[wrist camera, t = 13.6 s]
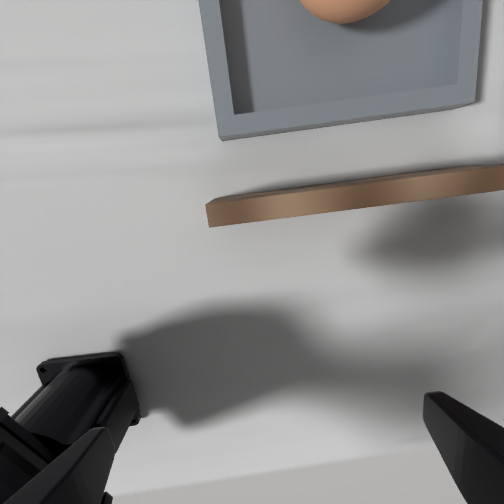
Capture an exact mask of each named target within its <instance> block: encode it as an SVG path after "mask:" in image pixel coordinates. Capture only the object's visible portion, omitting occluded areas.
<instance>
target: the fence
mask: <svg viewBox="0 0 504 504" xmlns="http://www.w3.org/2000/svg"><path fill="white" fill-rule="evenodd" d="M500 190H504V164H495V165H474V166H460V167H452V168H445V169H437V170H429V171H422V172H414V173H407V174H399V175H391V176H384V177H376V178H368V179H361V180H353V181H345V182H338V183H330V184H322V185H315V186H307V187H299V188H292V189H284V190H276V191H269V192H261V193H253V194H246V195H238V196H230V197H223V198H215V199H213V200H212V201H210V202H209V203H207V204H205V206H206V212H207V217H208V223H209V228H210V227H218V226H225V225H233V224H241V223H249V222H257V221H265V220H272V219H280V218H288V217H296V216H304V215H312V214H319V213H327V212H335V211H343V210H351V209H359V208H366V207H374V206H382V205H390V204H398V203H406V202H413V201H421V200H429V199H437V198H445V197H453V196H460V195H468V194H476V193H484V192H492V191H500Z"/></svg>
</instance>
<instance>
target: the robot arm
mask: <svg viewBox="0 0 504 504" xmlns="http://www.w3.org/2000/svg"><path fill="white" fill-rule="evenodd" d="M114 359H116V360H118V361H115V360H114ZM45 368H46V369H45ZM36 369H37V373H38V375H39V378H40V380H41V383H42V386H41V387H40V388H39V389H38V390H37V391H36V392H35V393H34V394H33V395H32V396H31V397H30V398H29V399H28V400H27V401H26V402H25V403H24V404H23V405H22V406H21V407H20V408H19V409H18V410H17V411H16V412H15V413H14V414H13V415H12V416H11V417H10V416H9V415H8V413H9V412H8V411H6V410H5V409H4V408H3V407H0V504H112V499H113V497H112V496H111V495H110V494H109V493H107V492H104V490H105V486H106V483H107V480H108V476H109V473H110V470H111V467H112V463H113V460H114V456H115V453H116V452H117V450H118V448H119V446H120V444H121V442H122V440H123V438H124V436H125V434H126V432H127V430H128V427H129V426H135V425H137V424H138V423H139V421H140V419H141V415H140V411H139V408H138V407H139V404H138V400H137V397H136V393H135V390H134V386H133V383H132V380H131V379H130V377H129V374H128V370H127V367H126V363H125V360H124V357H123V355H121V354H120V353H110V354H102V355H93V356H84V357H76V358H67V359H58V360H50V361H43V362H42V363H41V364H40V365H38V366H37V368H36ZM133 418H134V419H133ZM423 419H424V422H425V425H426V427H427V429H428V431H429V433H430V435H431V437H432V439H433V441H434V443H435V445H436V447H437V448H438V450H439V452H440V454H441V456H442V458H443V460H444V462H445V464H446V466H447V468H448V470H449V472H450V474H451V475H452V477H453V479H454V481H455V483H456V485H457V487H458V488H459V490H460V492H461V494H462V495H463V497H464V499H465V500H466V502H467V504H504V427H502V426H500V425H498V424H497V423H495V422H493V421H491V420H490V419H488V418H486V417H485V416H483V415H481V414H479V413H478V412H476V411H474V410H473V409H471V408H469V407H467V406H466V405H464V404H462V403H461V402H459V401H457V400H455V399H454V398H452V397H450V396H449V395H447V394H445V393H443V392H441V391H436V392H427V393H425V395H424V406H423Z"/></svg>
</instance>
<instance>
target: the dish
mask: <svg viewBox="0 0 504 504" xmlns="http://www.w3.org/2000/svg"><path fill="white" fill-rule="evenodd" d="M482 6H483V0H391V1H389V2H388V3H387V4H386V5H385V6H384V7H382V8H381V9H379V10H378V11H377V12H375V13H374V14H372V15H370V16H368V17H366V18H364V19H361V20H358V21H355V22H351V23H343V24H339V23H331V22H327V21H324V20H321V19H319V18H317V17H316V16H314V15H313V14H311V13H310V12H309V11H308V10H307V9H306V8H305V7H304V6H303V5H302V3H301V2H300V1H299V0H199V7H200V13H201V20H202V27H203V34H204V40H205V47H206V54H207V60H208V67H209V74H210V81H211V87H212V94H213V101H214V108H215V114H216V121H217V128H218V135H219V138H220V139H221V140H222V141H226V140H233V139H240V138H248V137H255V136H262V135H270V134H277V133H284V132H292V131H299V130H306V129H314V128H321V127H328V126H336V125H343V124H350V123H358V122H365V121H372V120H380V119H387V118H394V117H402V116H409V115H416V114H424V113H431V112H438V111H445V110H452V109H455V108H458V107H461V106H464V105H467V104H470V103H473V102H475V95H476V82H477V69H478V57H479V44H480V32H481V19H482Z"/></svg>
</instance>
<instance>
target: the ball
mask: <svg viewBox="0 0 504 504" xmlns="http://www.w3.org/2000/svg"><path fill="white" fill-rule="evenodd" d="M299 1H300V2H301V3H302V5H303V6H304V7H305V8H306V9H307V10H308V11H309V12H310V13H311V14H313V15H314V16H316V17H317V18H319V19H321V20H324V21H327V22H331V23H339V24H343V23H351V22H355V21H358V20H361V19H364V18H366V17H368V16H370V15H372V14H374V13H375V12H377V11H378V10H379V9H381V8H382V7H384V6H385V5H386V4H387V3H388V2H389V1H391V0H299Z"/></svg>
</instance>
